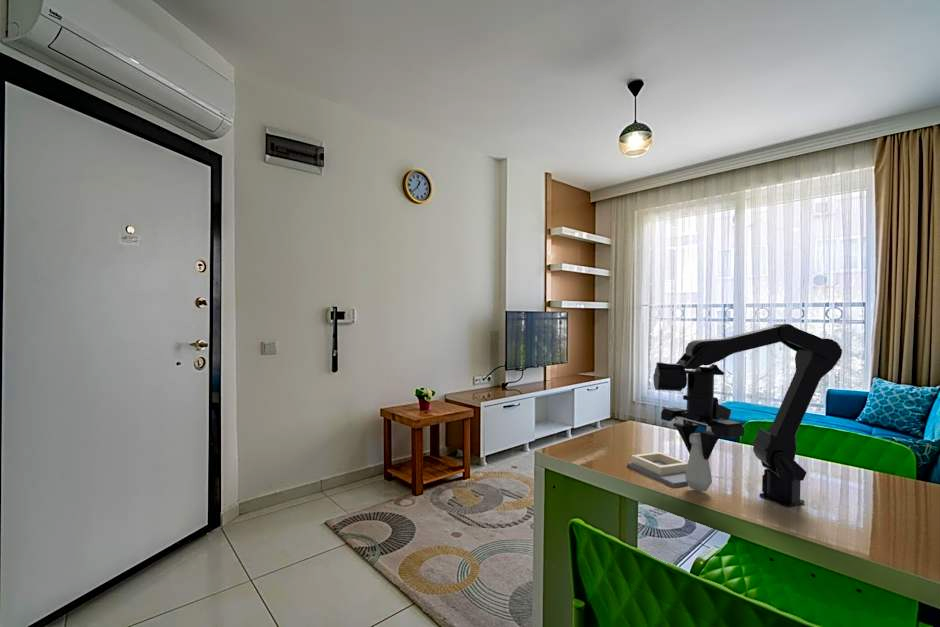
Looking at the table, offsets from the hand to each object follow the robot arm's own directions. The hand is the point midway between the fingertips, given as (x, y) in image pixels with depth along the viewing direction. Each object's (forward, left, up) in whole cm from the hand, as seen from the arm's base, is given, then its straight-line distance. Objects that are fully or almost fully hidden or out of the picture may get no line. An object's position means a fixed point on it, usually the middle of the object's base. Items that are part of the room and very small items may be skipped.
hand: (698, 456), depth 104 cm
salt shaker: (0, 0, -8) cm, 8 cm away
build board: (+12, -3, -8) cm, 15 cm away
